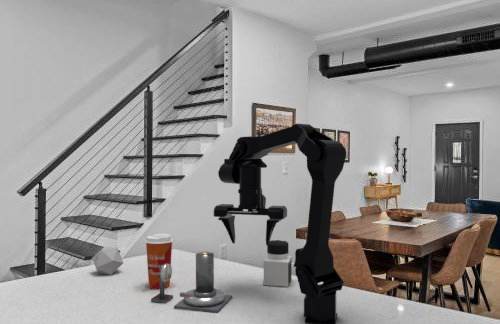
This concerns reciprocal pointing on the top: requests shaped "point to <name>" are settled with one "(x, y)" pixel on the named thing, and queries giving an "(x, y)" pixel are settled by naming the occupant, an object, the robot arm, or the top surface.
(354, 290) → the top surface
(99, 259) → the die
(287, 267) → the medicine bottle
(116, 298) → the top surface
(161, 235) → the paper cup
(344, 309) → the top surface
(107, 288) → the top surface
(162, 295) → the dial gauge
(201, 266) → the cylinder with brass cap
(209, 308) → the turntable base
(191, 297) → the platter
